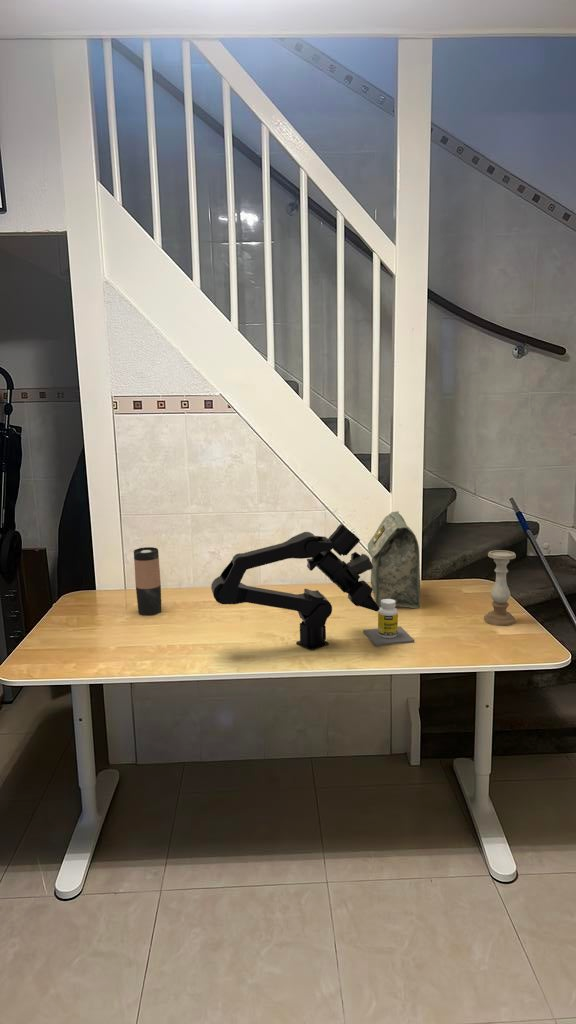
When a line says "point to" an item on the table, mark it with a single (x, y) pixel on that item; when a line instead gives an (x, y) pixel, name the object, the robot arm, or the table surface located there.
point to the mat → (379, 641)
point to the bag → (395, 563)
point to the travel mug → (147, 580)
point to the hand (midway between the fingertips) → (373, 604)
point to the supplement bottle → (388, 619)
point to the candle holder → (500, 590)
